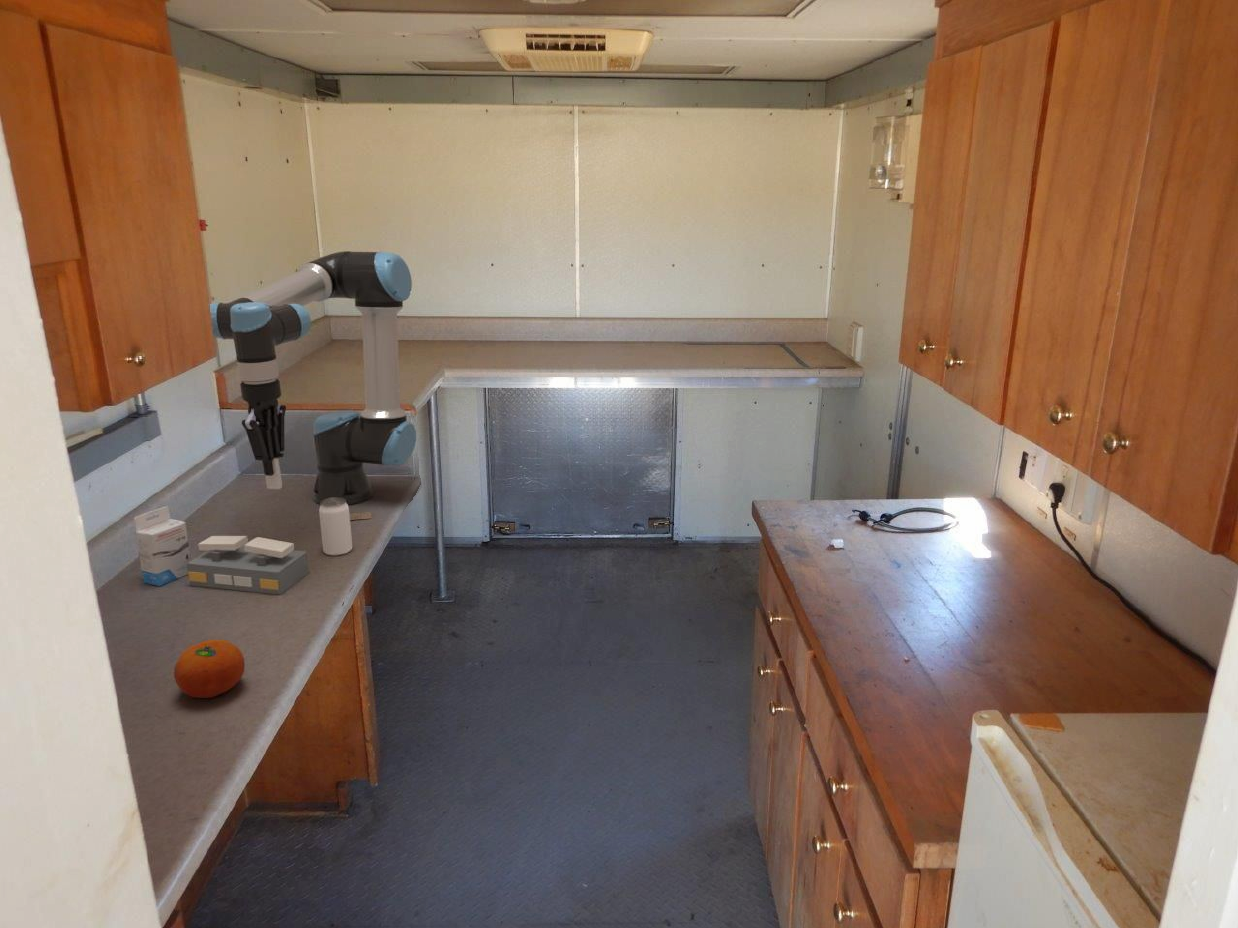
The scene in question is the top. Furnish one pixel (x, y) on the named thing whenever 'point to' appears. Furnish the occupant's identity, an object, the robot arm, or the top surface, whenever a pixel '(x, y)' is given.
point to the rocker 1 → (223, 543)
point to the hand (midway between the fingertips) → (274, 487)
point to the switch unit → (248, 571)
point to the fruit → (209, 668)
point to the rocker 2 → (269, 547)
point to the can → (335, 526)
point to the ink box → (162, 547)
